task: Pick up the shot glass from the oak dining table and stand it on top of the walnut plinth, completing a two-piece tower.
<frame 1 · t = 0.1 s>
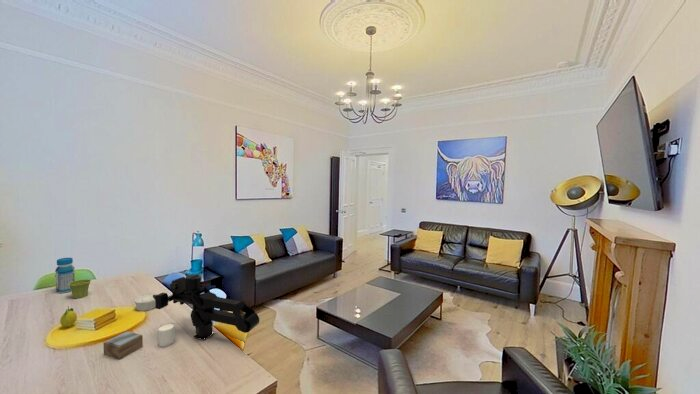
hand: (162, 292, 133), 17 cm above the table, tool horizontal, fingers open, 9 cm apart
beverage bottle: (65, 291, 168), on the table
plant pot: (80, 296, 161), on the table
green pear: (68, 327, 130), on the table
walnut plinth: (123, 350, 114), on the table
shot glass: (166, 342, 120), on the table
ramekin: (147, 307, 151), on the table
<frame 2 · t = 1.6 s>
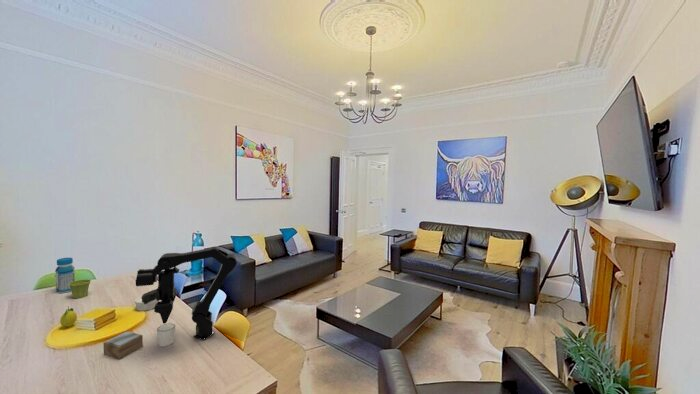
hand: (166, 318, 120), 11 cm above the table, tool pointing down, fingers open, 9 cm apart
nothing on the table moved.
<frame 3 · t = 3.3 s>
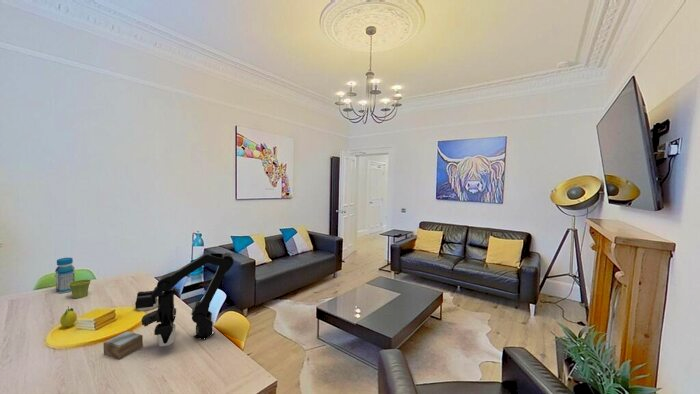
hand: (166, 339, 120), 2 cm above the table, tool pointing down, fingers closed on shot glass, 6 cm apart
shot glass: (166, 342, 120), on the table, touching gripper
everything else where it was.
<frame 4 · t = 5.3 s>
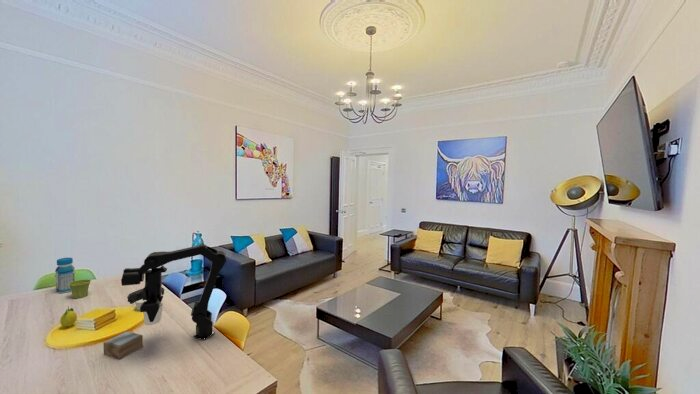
hand: (152, 318, 117), 12 cm above the table, tool pointing down, fingers closed on shot glass, 6 cm apart
shot glass: (152, 322, 118), point 10 cm above the table, touching gripper
everything else where it was.
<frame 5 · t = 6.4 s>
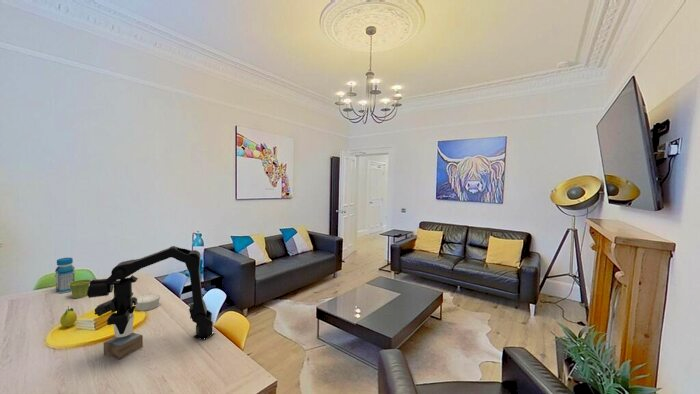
hand: (123, 330, 113), 9 cm above the table, tool pointing down, fingers closed on shot glass, 6 cm apart
shot glass: (123, 333, 113), point 7 cm above the table, touching gripper
everything else where it was.
when the fingers open (8 cm above the table, at t = 7.3 s): shot glass drops 2 cm, resting on walnut plinth.
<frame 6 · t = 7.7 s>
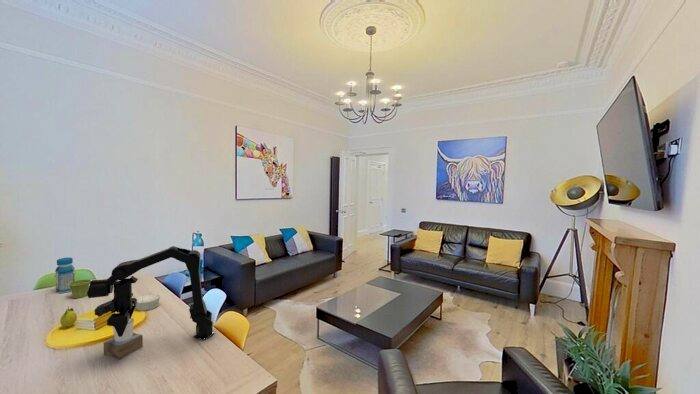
hand: (123, 330, 113), 8 cm above the table, tool pointing down, fingers open, 9 cm apart
shot glass: (123, 338, 114), point 5 cm above the table, touching walnut plinth
everything else where it was.
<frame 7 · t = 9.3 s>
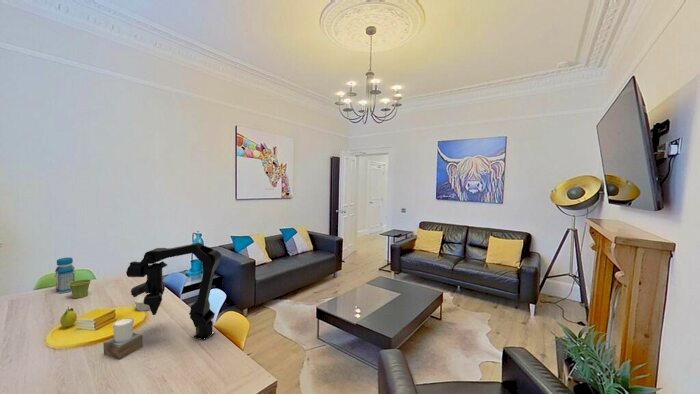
hand: (155, 310, 125), 12 cm above the table, tool pointing down, fingers open, 9 cm apart
nothing on the table moved.
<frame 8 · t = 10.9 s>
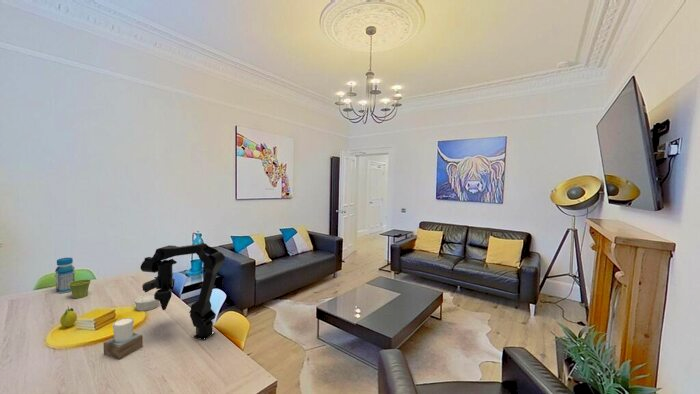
hand: (165, 305, 129), 12 cm above the table, tool pointing down, fingers open, 9 cm apart
nothing on the table moved.
at the end: shot glass 0.0 cm off-centre on the walnut plinth, point 5.1 cm above the walnut plinth's base; shot glass tilted 0°; the gripper is holding nothing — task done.
